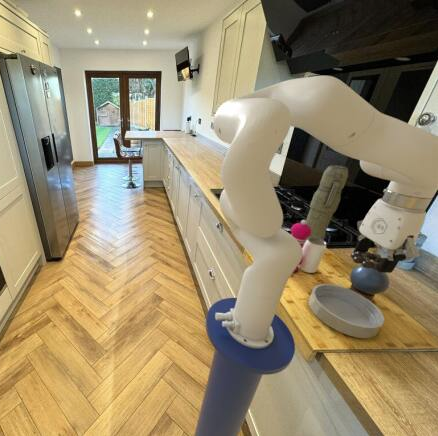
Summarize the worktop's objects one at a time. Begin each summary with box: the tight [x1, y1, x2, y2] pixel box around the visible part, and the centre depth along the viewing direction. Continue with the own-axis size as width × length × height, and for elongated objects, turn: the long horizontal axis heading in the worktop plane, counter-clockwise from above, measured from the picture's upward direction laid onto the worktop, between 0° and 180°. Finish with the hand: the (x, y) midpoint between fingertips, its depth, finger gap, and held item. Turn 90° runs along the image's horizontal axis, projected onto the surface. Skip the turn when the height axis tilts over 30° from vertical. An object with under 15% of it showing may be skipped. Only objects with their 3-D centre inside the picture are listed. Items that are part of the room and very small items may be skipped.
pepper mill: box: [290, 219, 311, 274], centre depth 84 cm, size 7×7×20 cm
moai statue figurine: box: [302, 164, 349, 248], centre depth 96 cm, size 9×12×35 cm
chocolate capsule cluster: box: [350, 251, 385, 270], centre depth 62 cm, size 9×7×2 cm
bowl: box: [307, 283, 385, 339], centre depth 68 cm, size 16×16×4 cm
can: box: [298, 237, 327, 274], centre depth 86 cm, size 6×6×12 cm
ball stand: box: [348, 264, 390, 302], centre depth 74 cm, size 9×9×12 cm
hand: (371, 261), depth 62 cm, fingers closed on chocolate capsule cluster, 7 cm apart
